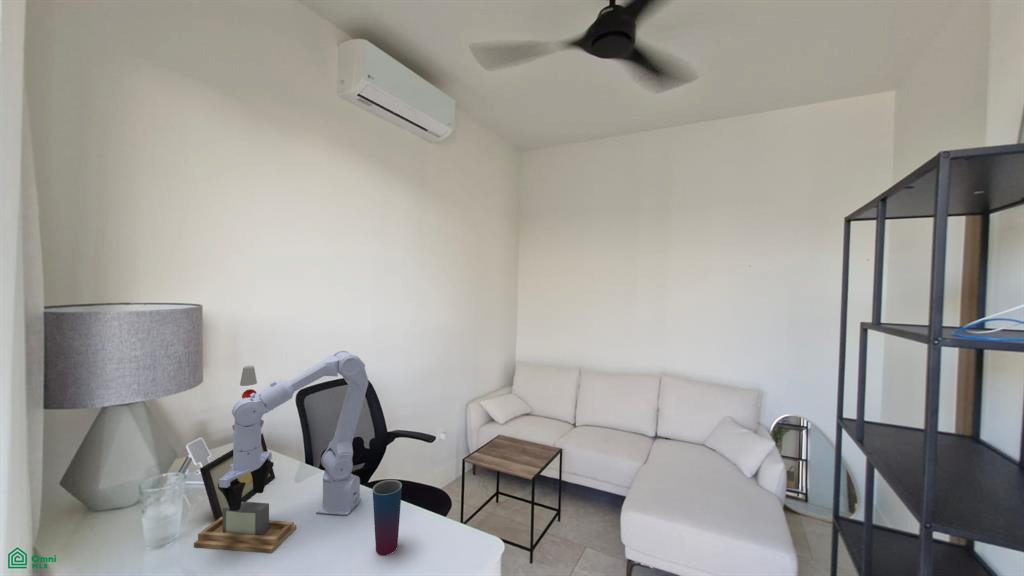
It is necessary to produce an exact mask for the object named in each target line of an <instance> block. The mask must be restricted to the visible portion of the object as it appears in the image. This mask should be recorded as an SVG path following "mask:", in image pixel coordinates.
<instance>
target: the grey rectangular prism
mask: <svg viewBox="0 0 1024 576" xmlns="http://www.w3.org/2000/svg"><path fill="white" fill-rule="evenodd" d="M269 520H270V503H268V502H254V501H253V502H252V501H244V502H241V507H240V510H238V511H230V509H229V506H228V504H227V505H226V506H224V507H223V526H222V533H234V534H247V535H261V536H263V535H265V534H266V533H267V532H268V531H269Z"/></svg>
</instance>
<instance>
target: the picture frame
mask: <svg viewBox="0 0 1024 576" xmlns="http://www.w3.org/2000/svg"><path fill="white" fill-rule="evenodd" d="M263 452H269V451H268V448H267V445H266V440H265V437H264V434H263V432H261V454H262V453H263ZM268 462H272V461H271V460H269V461H268ZM231 464H233V449H230V450H229V451H228V452H226V453H224V454H222V455H221V456H219V457H217V458H216V459H214V460H212V461H211V462H209V463H207V464H205V465H204V466H201V467H200V468H199V472H200V474H201V478H202V481H203V485H204V488H205V492H206V495H207V499H208V503H209V506H210V509H211V513H212V516H213V519H214V520H213V521H214V522H215V521H216V520H218V519H219V518H221V517H223V507H224V506H226V505H227V504H228V503H227V500H226V498H225V496H224V495H223V493H222V492H221V491H220V490H219V489H218V484H219V479H220V478H222V477H223V476H224V475H225V474H226V473H227V472H228V471H229V470H230V469H231V468H230V465H231ZM275 478H276V475H275V471H274V468H273V467H272V469H271V471H270V473H269V475H268V477H267V480H266V484H265V486H267V484H268V483H270V482H271V481H272V480H274V479H275ZM238 481H240V482H243V483H246V484H245V486H244V489H243V492H242V498H241V502H247V500H249V498H250V497H252V496H253V495H255V494H256V493H254V490H253V479H252V475H251V472H249V473H247V474H245V475H243V476H242V477H240V478H239V479H238Z"/></svg>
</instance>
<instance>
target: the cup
mask: <svg viewBox="0 0 1024 576" xmlns="http://www.w3.org/2000/svg"><path fill="white" fill-rule="evenodd" d="M402 488H403V484H402V482H401V481H399V480H398V479H397V480H396V479H387V480H386V479H385V480H382V481H379V482H378V483H376V484H374V486H373V487H372V502H373V503H372V506H373V522H374V539H375V542H374V543H375V551H376V554H377V555H380V556H388V555H387V554H389V555H391V554H393V553H394V552H395V551H397V549H398V547H397V546H399V545H398V544H399V533H400V531H399V530H400V517H401V503H402V491H403V490H402ZM396 548H397V549H396ZM392 552H393V553H392ZM390 553H391V554H390Z"/></svg>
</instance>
